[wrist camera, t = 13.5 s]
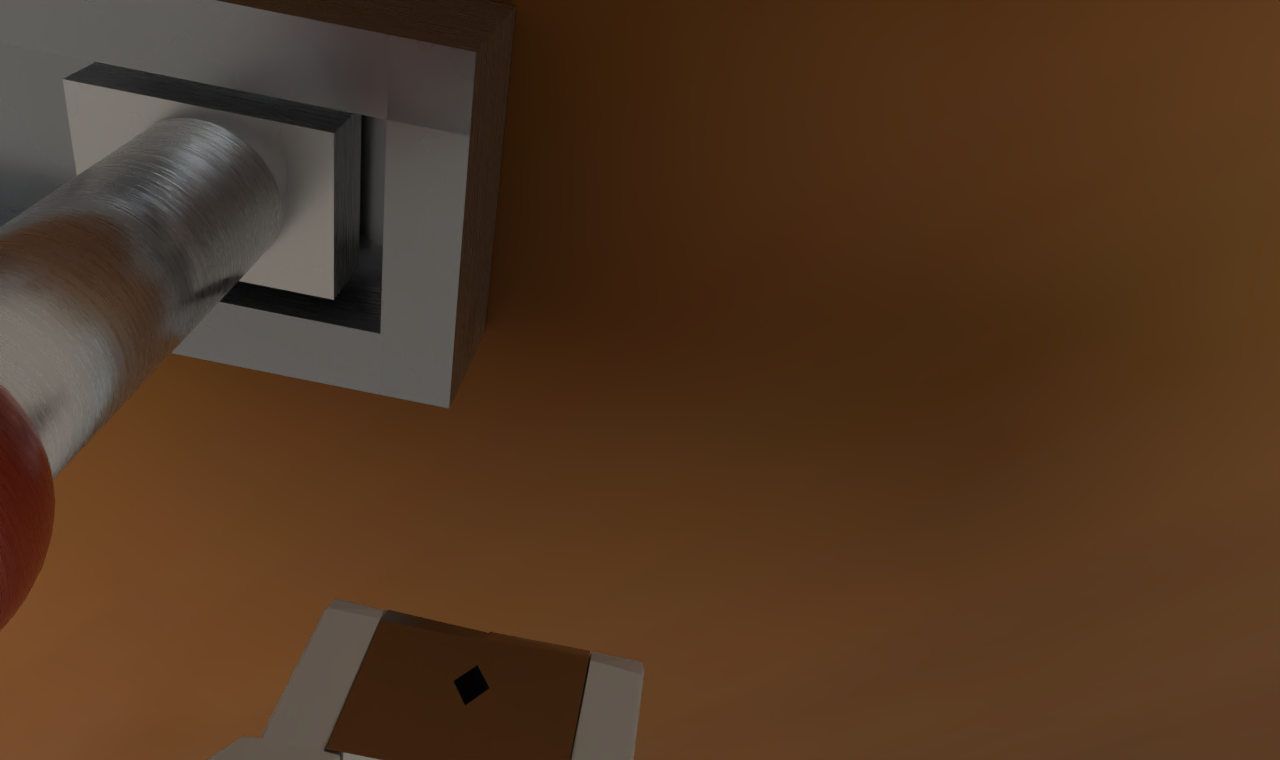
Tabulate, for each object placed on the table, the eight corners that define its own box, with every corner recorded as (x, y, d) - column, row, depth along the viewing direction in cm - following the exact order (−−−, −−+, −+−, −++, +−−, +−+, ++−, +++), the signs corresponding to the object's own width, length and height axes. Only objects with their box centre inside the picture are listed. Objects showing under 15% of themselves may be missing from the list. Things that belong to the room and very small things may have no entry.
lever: (104, 29, 16) (-735, 431, 7) (361, 80, 16) (-155, 547, 7) (129, 241, 18) (-500, 760, 9) (359, 286, 18) (-47, 849, 9)
